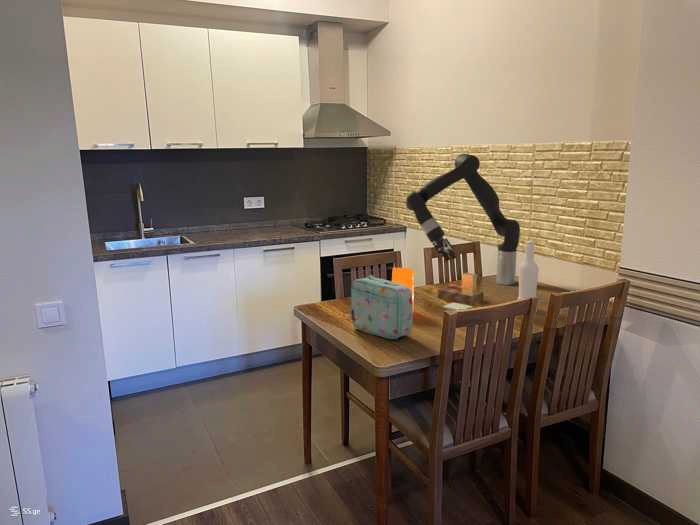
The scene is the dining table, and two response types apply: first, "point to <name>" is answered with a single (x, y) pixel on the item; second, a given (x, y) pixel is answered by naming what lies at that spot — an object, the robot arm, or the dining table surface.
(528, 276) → the bottle
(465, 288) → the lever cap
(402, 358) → the dining table surface
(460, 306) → the pad
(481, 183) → the robot arm
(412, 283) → the orange juice
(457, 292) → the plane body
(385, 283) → the lunch box
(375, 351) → the dining table surface
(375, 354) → the dining table surface
